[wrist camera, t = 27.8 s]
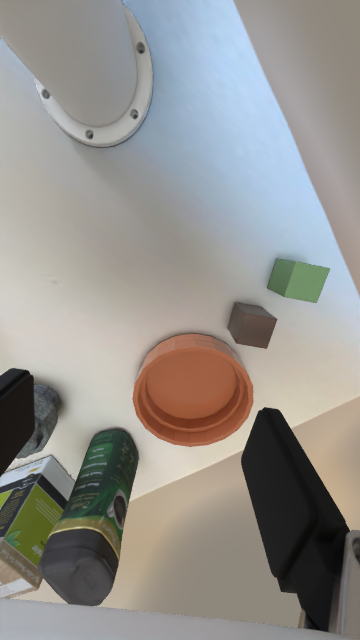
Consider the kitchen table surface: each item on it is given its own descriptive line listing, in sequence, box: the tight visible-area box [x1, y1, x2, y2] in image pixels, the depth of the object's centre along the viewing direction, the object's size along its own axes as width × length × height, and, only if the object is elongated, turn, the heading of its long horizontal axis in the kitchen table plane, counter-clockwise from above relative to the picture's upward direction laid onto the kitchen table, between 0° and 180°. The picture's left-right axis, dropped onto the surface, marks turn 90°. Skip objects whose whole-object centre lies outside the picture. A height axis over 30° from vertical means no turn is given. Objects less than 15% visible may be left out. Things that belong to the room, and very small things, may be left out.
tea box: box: [0, 456, 75, 599], centre depth 38 cm, size 15×10×15 cm
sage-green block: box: [267, 259, 330, 303], centre depth 29 cm, size 4×4×6 cm
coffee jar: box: [38, 430, 139, 606], centre depth 33 cm, size 10×8×19 cm
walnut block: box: [228, 302, 277, 349], centre depth 31 cm, size 4×4×6 cm
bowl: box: [133, 334, 253, 447], centre depth 35 cm, size 17×17×5 cm
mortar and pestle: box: [16, 384, 60, 459], centre depth 33 cm, size 11×9×12 cm
